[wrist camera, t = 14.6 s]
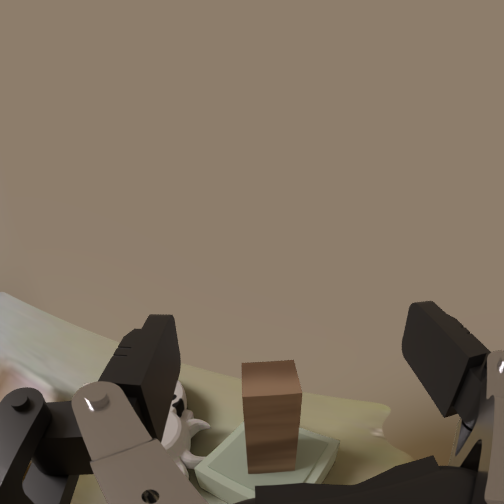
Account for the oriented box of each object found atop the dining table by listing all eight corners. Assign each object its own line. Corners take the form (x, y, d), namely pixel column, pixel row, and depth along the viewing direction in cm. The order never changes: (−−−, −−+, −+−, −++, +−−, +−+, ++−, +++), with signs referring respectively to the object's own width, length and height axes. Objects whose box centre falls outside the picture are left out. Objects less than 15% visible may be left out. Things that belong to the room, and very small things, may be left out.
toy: (49, 481, 24) (214, 494, 25) (32, 454, 23) (205, 467, 24) (98, 393, 45) (213, 389, 47) (90, 369, 44) (209, 364, 46)
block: (294, 470, 25) (302, 392, 22) (248, 474, 25) (242, 396, 22) (289, 439, 30) (293, 359, 27) (246, 441, 30) (241, 362, 26)
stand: (288, 531, 21) (291, 516, 20) (199, 486, 27) (193, 466, 26) (335, 460, 30) (340, 439, 29) (255, 431, 36) (254, 408, 35)
